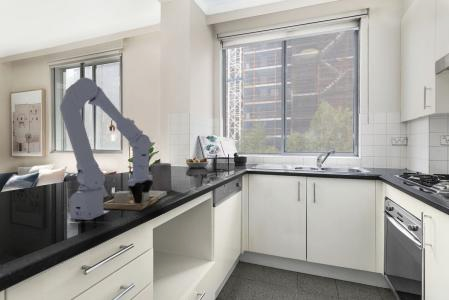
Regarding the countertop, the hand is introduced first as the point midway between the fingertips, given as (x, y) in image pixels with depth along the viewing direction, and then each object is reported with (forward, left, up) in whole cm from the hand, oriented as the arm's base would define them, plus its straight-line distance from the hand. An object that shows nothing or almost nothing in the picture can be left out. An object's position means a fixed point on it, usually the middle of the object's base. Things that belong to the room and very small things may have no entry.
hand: (141, 201), depth 91 cm
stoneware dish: (+13, +3, -2) cm, 13 cm away
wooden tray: (0, +4, -2) cm, 4 cm away
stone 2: (0, 0, -1) cm, 1 cm away
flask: (+10, +26, -2) cm, 28 cm away
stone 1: (0, +8, -1) cm, 8 cm away
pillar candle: (+28, +5, -2) cm, 28 cm away
